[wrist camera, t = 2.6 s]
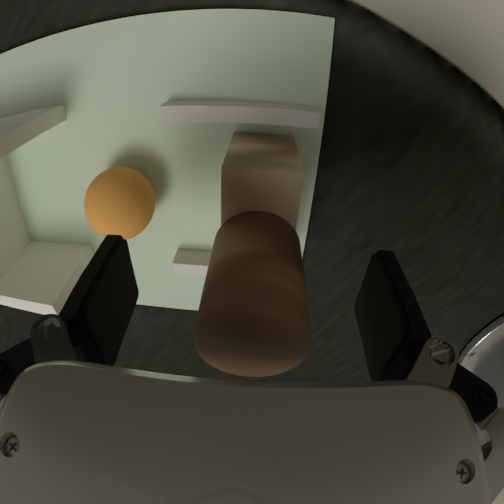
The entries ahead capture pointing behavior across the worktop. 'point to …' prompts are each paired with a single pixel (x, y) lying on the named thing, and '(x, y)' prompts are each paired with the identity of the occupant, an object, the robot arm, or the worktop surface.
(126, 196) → the ball
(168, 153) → the pitch
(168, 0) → the worktop surface
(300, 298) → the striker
